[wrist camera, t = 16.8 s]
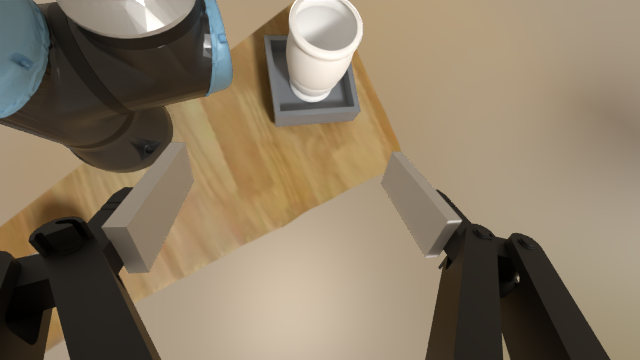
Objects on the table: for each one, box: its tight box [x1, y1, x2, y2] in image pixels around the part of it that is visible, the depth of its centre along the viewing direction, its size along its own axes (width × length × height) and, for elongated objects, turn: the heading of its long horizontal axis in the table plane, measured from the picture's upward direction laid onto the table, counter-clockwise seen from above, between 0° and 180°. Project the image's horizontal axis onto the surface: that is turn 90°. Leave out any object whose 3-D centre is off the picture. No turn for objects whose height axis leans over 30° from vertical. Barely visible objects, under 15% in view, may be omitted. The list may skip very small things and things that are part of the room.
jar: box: [286, 0, 363, 102], centre depth 39 cm, size 11×10×15 cm
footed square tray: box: [264, 35, 360, 127], centre depth 46 cm, size 16×16×6 cm
